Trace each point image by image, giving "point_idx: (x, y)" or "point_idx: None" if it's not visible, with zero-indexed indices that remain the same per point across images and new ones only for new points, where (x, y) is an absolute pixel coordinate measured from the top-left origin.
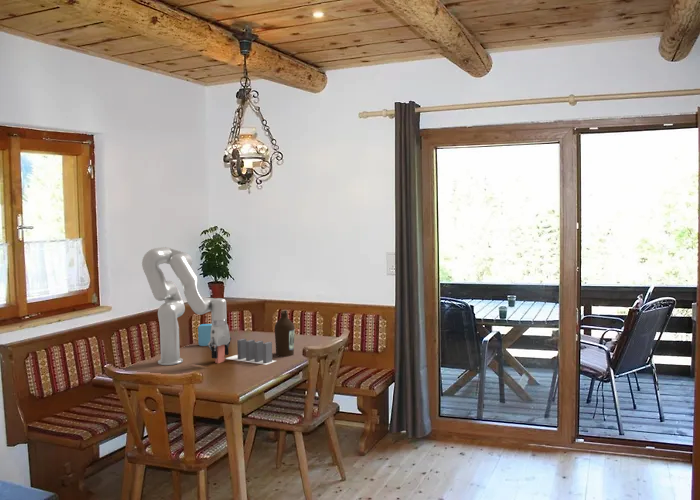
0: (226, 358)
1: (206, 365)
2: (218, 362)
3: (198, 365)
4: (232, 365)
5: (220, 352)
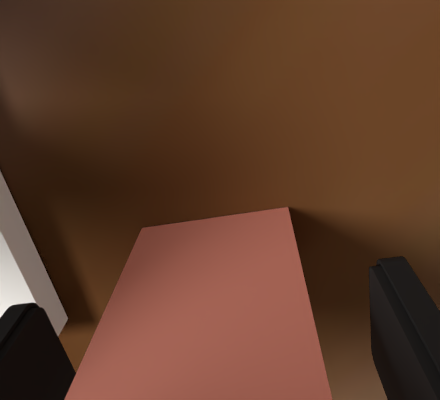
0: None
1: None
2: (291, 231)
3: None
4: (133, 22)
5: (229, 374)
